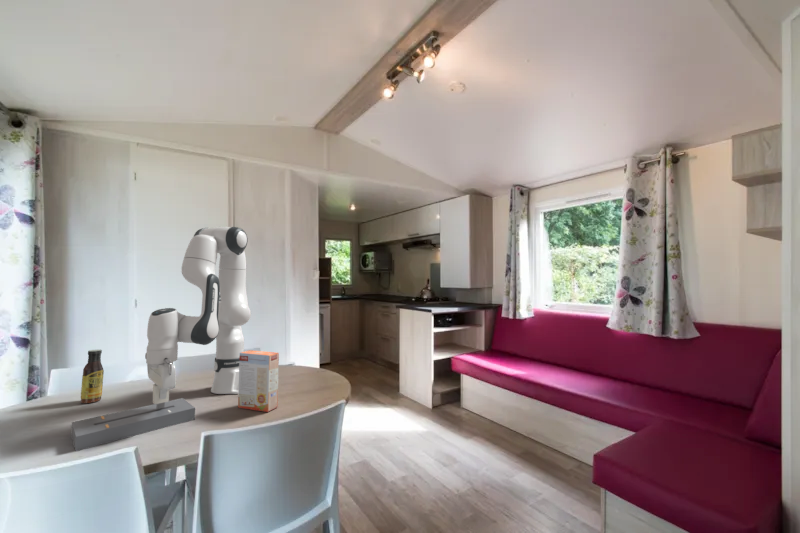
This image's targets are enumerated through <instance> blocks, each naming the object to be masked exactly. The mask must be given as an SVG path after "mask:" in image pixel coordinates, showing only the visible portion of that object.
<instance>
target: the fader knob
mask: <svg viewBox="0 0 800 533" xmlns="http://www.w3.org/2000/svg"><path fill="white" fill-rule="evenodd" d="M152 385H153V386H152V404H156V408H157V409H160V408H165V402H168V401H170V389H169V390H167V394H166V398H165V399H160V398H159V393H160V387H159V386H158V385H156V384H155V383H153V384H152Z"/></svg>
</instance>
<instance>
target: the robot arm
mask: <svg viewBox="0 0 800 533" xmlns="http://www.w3.org/2000/svg"><path fill="white" fill-rule="evenodd" d="M248 239H249V238H248V234H247V233H246V231H245V230H244V229H243V228H241V227H237V226H214V227H203V228H200V229H198V230H196V232H194V234H193V237H191V240H190V241H189V243H188V246H187V248H186V250H185V253H184V257H183V260H182V264H181V275H182V277H183V278H184V279H185V280H186V281H187V282H188V283H190V284H192V285H193V286H195V287H197V288H199V290H201V293H202V298H201V300H202V301H201V313H200V315H199V316H196V315H195V316H191V315H185V314H182V313H180V312H178V311H177V309H176V308H173V307H167V308H166V307H165V308H158V309H155V310H154V311H152V312H151V313H150V315H149V317H148V322H147V330H146V336H147V339H148V343H147V346H146V353H145V360H146V361H145V362H146V366H147V376H148V379H149V380H151V381H152V383H153V384H156V385H158V386H159V387H160V393H159V398H160V399H165V398H166V394H167V390H169V391H170V390H173V389H175V388H176V385H177V376H176V375H177V371H176V366H175V364H174V362H176V361H178V353H179V347H178V346H179V343H185V344H197V345H203V346H207V345H209V344H211V343H212V342H214V341H215V340H216V343H215V348H216V349H215V358H214V362H213V367H214V370H213V371H214V374H213V376H214V378H213V382H212V385H211V387H210V392H211V393H212V394H215V395H217V394H218V395H224V394H225V395H227V394H231V395H238V392H239V357H240V353H241V352H245V337H244V333H243V328H242V326H244V325H246V324H247V323H248V322H249V321H250V320H251V319H250V318H251V314H252V313H251V312H252V311H251V309H250V307H249V298H248V293H247V258H246V257H247V256H246V251H245V249H246V247H247V245H248ZM218 254H219V255H220V258H219V264H218V276H217V274H216V264H217V260H218Z"/></svg>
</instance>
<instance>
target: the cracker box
mask: <svg viewBox="0 0 800 533" xmlns="http://www.w3.org/2000/svg"><path fill="white" fill-rule="evenodd" d="M279 358H280V352H273V351H265V350H244V352H241V353H240V357H239V392H238V394H237V395H238V396H237V397H238V398H237V408H239V409H245V410H252V411H258V412H263V413H264V412H265V413H269V412H271V411H272V410H275V409H277V408H278V405H279V404H278V402H279V400H278V399H279V366H280V365H279V360H280V359H279Z"/></svg>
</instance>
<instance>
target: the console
mask: <svg viewBox="0 0 800 533" xmlns="http://www.w3.org/2000/svg"><path fill="white" fill-rule="evenodd" d="M195 419H196V407H195V406H194V405H193V404H191V403H190V402H189V401H187V400H186V399H185V398H183V397H181V398H176V399H172V400H169V401H168V402H165V408H160V409H157V408H156V404H154V403H152V404H149V405H145V406H140V407H139V406H138V407H135V408H131V409H130V408H129V409H126V410H121V411H116V412H113V413H108V414H102V415H99V416H98V415H97V416H94V417H91V418H90V417H89V418H85V419H81V420H75V421H72V422H71V428H70V429H71V430H70V436H71V440H72V444H73V448H74V450H75V452H77V451H82V450H86V449H89V448H93V447H96V446H99V445H103V444H107V443H111V442H116V441H118V440H119V441H120V440H123V439H126V438H130V437H133V436H137V435H142V434H146V433H149V432H152V431H153V432H154V431H157V430H160V429H164V428H168V427H171V426H175V425H179V424H184V423H187V422H192V421H194V420H195ZM88 447H89V448H88ZM85 448H86V449H85ZM81 449H82V450H81Z"/></svg>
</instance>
